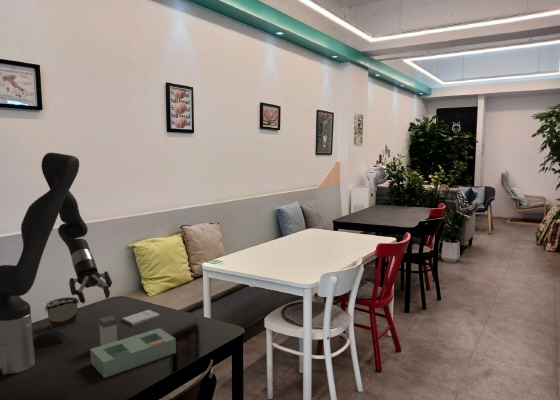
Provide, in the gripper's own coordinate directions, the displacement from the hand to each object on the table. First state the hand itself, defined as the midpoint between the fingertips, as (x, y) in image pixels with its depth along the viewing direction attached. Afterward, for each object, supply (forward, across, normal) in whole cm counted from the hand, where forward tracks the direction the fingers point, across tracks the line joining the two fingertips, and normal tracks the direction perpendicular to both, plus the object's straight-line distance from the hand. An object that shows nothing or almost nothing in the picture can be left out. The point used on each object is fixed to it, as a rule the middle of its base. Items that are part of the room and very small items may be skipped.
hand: (96, 299), depth 157 cm
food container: (-5, -7, +26) cm, 27 cm away
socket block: (+28, +3, -8) cm, 30 cm away
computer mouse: (+5, -15, +16) cm, 23 cm away
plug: (+18, 0, +2) cm, 18 cm away
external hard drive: (+6, +19, +15) cm, 25 cm away
